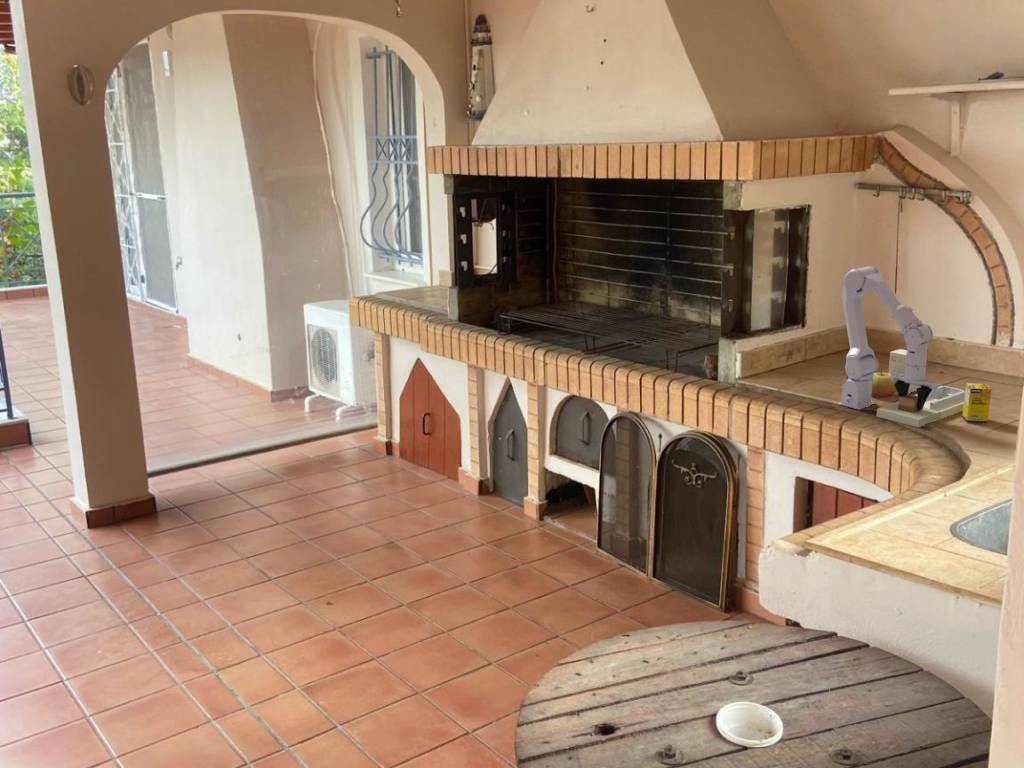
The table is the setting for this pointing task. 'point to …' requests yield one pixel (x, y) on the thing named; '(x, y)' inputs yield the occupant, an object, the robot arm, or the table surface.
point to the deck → (927, 407)
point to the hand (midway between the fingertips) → (911, 407)
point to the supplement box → (976, 403)
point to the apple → (883, 385)
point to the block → (908, 403)
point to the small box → (900, 365)
